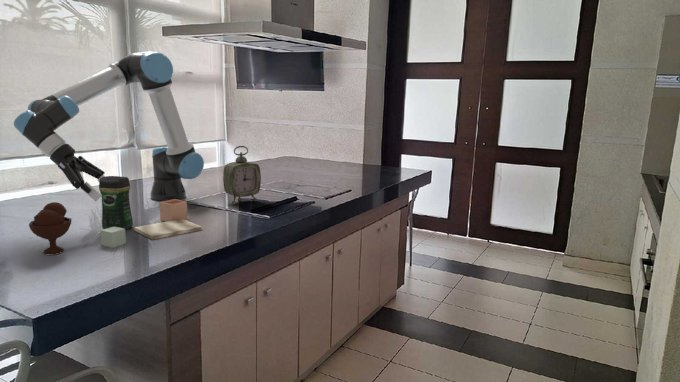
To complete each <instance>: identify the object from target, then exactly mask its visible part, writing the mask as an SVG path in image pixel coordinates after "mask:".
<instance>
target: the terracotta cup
mask: <svg viewBox="0 0 680 382" xmlns="http://www.w3.org/2000/svg"><path fill="white" fill-rule="evenodd" d="M187 202H188V201H186V200H182V199H173V200H162V201H159V215H160V216H159V217H160V218H159V220H160V221H162V222H167V221H173V220H178V219H185V220H187V221H189V219H188V203H187Z"/></svg>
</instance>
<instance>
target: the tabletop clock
mask: <svg viewBox="0 0 680 382" xmlns="http://www.w3.org/2000/svg"><path fill="white" fill-rule="evenodd" d="M240 148H245V149H246V152H244V153H243V152H241V151H240V153H236V150H237V149H240ZM248 153H249V149H248V147H246V146H245V145H239V146H236V147H234V150H233V154H234V155H235V156H237V157H236V158H235V160H234V161H232V162H228V163H225V165H224V167H223V175H222V176H223V178H222V179H223V180H222V181H223V188H224V189H223V190H224V193H226V194H228V195H231V196H233V200H232V201H231V204H232V205H233V206H234V205H236V203H237V202H236V201H238V202H241V201H242V198H243V197H245V198H246V197H250V196H251V197H252V198H253V199H252V200H253V202H258V201H257V200H258V198H257V197H255V196H254V195H257V194H259V193H260V190H261V184H262V182H261V181H262V178H261V175H262V173H261V168H260V166H259V164H257V163H254V162H249V161H248V159H247V157H246V156H245V155H247V154H248ZM236 198H237V200H236Z"/></svg>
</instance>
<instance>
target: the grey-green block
mask: <svg viewBox="0 0 680 382" xmlns="http://www.w3.org/2000/svg"><path fill="white" fill-rule="evenodd" d="M99 233H100V242H101V246H102V245H104V246H103V247H107V246H108V247H107V248H111V247H114V248H117V247H119V246H123V245H125V244H127V239H126V237H127V236H126V229H124V228H119V227H110V228H107V229H103V228H102V229H101V230H100V232H99ZM116 246H117V247H116Z"/></svg>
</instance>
